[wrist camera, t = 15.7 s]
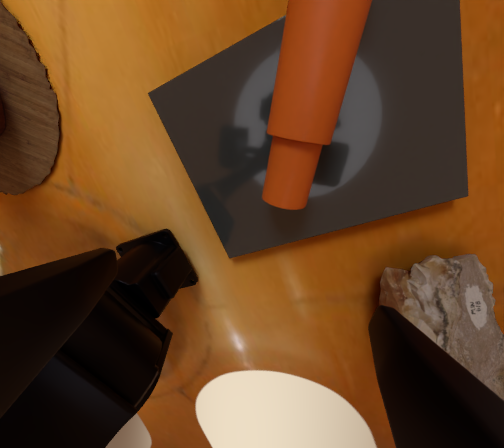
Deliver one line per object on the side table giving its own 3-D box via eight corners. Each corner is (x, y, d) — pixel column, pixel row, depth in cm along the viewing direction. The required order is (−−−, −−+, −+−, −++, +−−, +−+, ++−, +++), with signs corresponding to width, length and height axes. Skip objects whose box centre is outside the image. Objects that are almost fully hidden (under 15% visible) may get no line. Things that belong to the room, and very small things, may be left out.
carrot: (267, 212, 13) (371, -310, 6) (248, 190, 16) (303, -171, 9) (323, 213, 14) (460, -219, 7) (295, 192, 17) (373, -124, 11)
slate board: (232, 251, 21) (229, 258, 20) (156, 94, 17) (147, 93, 15) (457, 191, 16) (468, 196, 15) (441, -64, 11) (456, -83, 10)
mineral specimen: (438, 282, 26) (371, 227, 19) (536, 301, 20) (490, 230, 13) (414, 401, 24) (325, 386, 17) (519, 465, 17) (448, 484, 10)
